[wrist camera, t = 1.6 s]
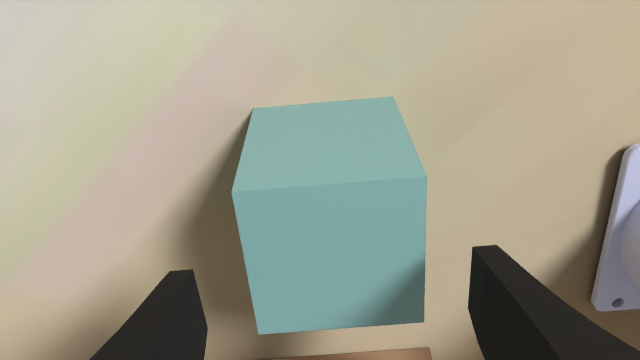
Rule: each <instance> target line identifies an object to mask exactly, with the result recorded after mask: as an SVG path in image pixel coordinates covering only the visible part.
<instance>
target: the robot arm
mask: <svg viewBox="0 0 640 360" xmlns="http://www.w3.org/2000/svg"><path fill="white" fill-rule="evenodd" d="M615 299H617V300H615ZM614 300H615V301H614ZM591 303H592V304H593V306H594V307H595V309H596V310H598V311H602V312H606V311H619V310H632V309H640V143H638V144H634V145H632V146H630V147H629V148H628V149H627V150H626V151H625V152H624V155H623V157H622V162H621V166H620V171H619V175H618V180H617V184H616V189H615V193H614V198H613V202H612V207H611V211H610V216H609V220H608V225H607V229H606V234H605V238H604V243H603V247H602V252H601V256H600V261H599V265H598V270H597V274H596V279H595V283H594V288H593V292H592V296H591ZM468 309H469V313H470V316H471V320H472V324H473V327H474V331H475V334H476V337H477V341H478V344H479V346H480V349H481V351H482V353H483V356H484V358H485V360H640V351H638V350H636V349H635V348H633V347H631V346H629V345H628V344H626V343H625V342H623V341H621V340H620V339H618V338H616V337H615V336H613V335H612V334H610V333H608V332H607V331H605V330H604V329H602V328H601V327H599V326H598V325H596V324H595V323H593V322H592V321H590V320H589V319H587V318H586V317H585V316H583V315H582V314H581V313H579V312H578V311H576V310H575V309H574V308H572V307H571V306H569V305H568V304H567V303H565V302H564V301H563V300H562V299H560V298H559V297H558V296H556V295H555V294H554V293H553V292H551V291H550V290H549V289H548V288H546V287H545V286H544V285H543V284H541V283H540V282H539V281H538V280H537V279H535V278H534V277H533V276H532V275H531V274H530V273H528V272H527V271H526V270H525V269H524V268H523V267H521V266H520V265H519V264H518V263H517V262H516V261H515V260H513V259H512V258H511V257H510V256H509V255H508V254H507V253H505V252H504V251H503V250H502V249H501V248H500V247H498V246H497V245H490V246H477V247H473V248H472V261H471V275H470V288H469V301H468ZM207 330H208V327H207V323H206V319H205V315H204V311H203V308H202V304H201V300H200V296H199V292H198V288H197V284H196V280H195V276H194V272H193V269H192V270H180V271H169V273H168V274H167V275H166V276H165V277H164V278H163V279H162V280H161V282H160V283H159V284H158V285H157V286H156V287H155V289H154V290H153V291H152V292H151V293H150V295H149V296H148V297H147V298H146V299H145V300H144V302H143V303H142V304H141V305H140V306H139V307H138V309H137V310H136V311H135V312H134V313H133V314H132V315H131V316H130V318H129V319H128V320H127V321H126V322H125V323H124V324H123V325H122V327H121V328H120V329H119V330H118V331H117V332H116V333H115V334H114V335H113V336H112V337H111V338H110V339H109V340H108V341H107V342H106V343H105V344H104V345H103V346H102V347H101V349H100V350H99V351H98V352H97V353H96V354H95V355H94V356H93V357H92V358H91V359H89V360H204V355H205V347H206V339H207Z"/></svg>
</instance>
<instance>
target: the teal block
mask: <svg viewBox="0 0 640 360" xmlns="http://www.w3.org/2000/svg"><path fill="white" fill-rule="evenodd" d="M231 193H232V198H233V203H234V209H235V214H236V219H237V224H238V230H239V235H240V240H241V245H242V251H243V256H244V261H245V266H246V272H247V277H248V282H249V287H250V293H251V298H252V303H253V308H254V314H255V319H256V324H257V329H258V335H259V334H273V333H286V332H300V331H313V330H326V329H340V328H353V327H367V326H380V325H393V324H407V323H420V322H424V293H425V243H426V194H427V176H426V173H425V171H424V168H423V166H422V164H421V161H420V159H419V157H418V154H417V152H416V149H415V147H414V145H413V142H412V140H411V138H410V135H409V133H408V130H407V128H406V126H405V123H404V121H403V119H402V116H401V114H400V111H399V109H398V107H397V104H396V102H395V100H394V97H383V98H371V99H359V100H347V101H336V102H324V103H312V104H300V105H288V106H276V107H265V108H253V111H252V115H251V119H250V123H249V127H248V130H247V134H246V138H245V142H244V146H243V149H242V153H241V157H240V161H239V165H238V169H237V172H236V176H235V180H234V184H233V188H232V192H231Z"/></svg>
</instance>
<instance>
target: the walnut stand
mask: <svg viewBox="0 0 640 360" xmlns="http://www.w3.org/2000/svg"><path fill="white" fill-rule="evenodd" d="M265 360H432V357H431V353H430V349H429V347H428V348H414V349H401V350H387V351H374V352H360V353H347V354H333V355H319V356H306V357H292V358H279V359H265Z"/></svg>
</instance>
